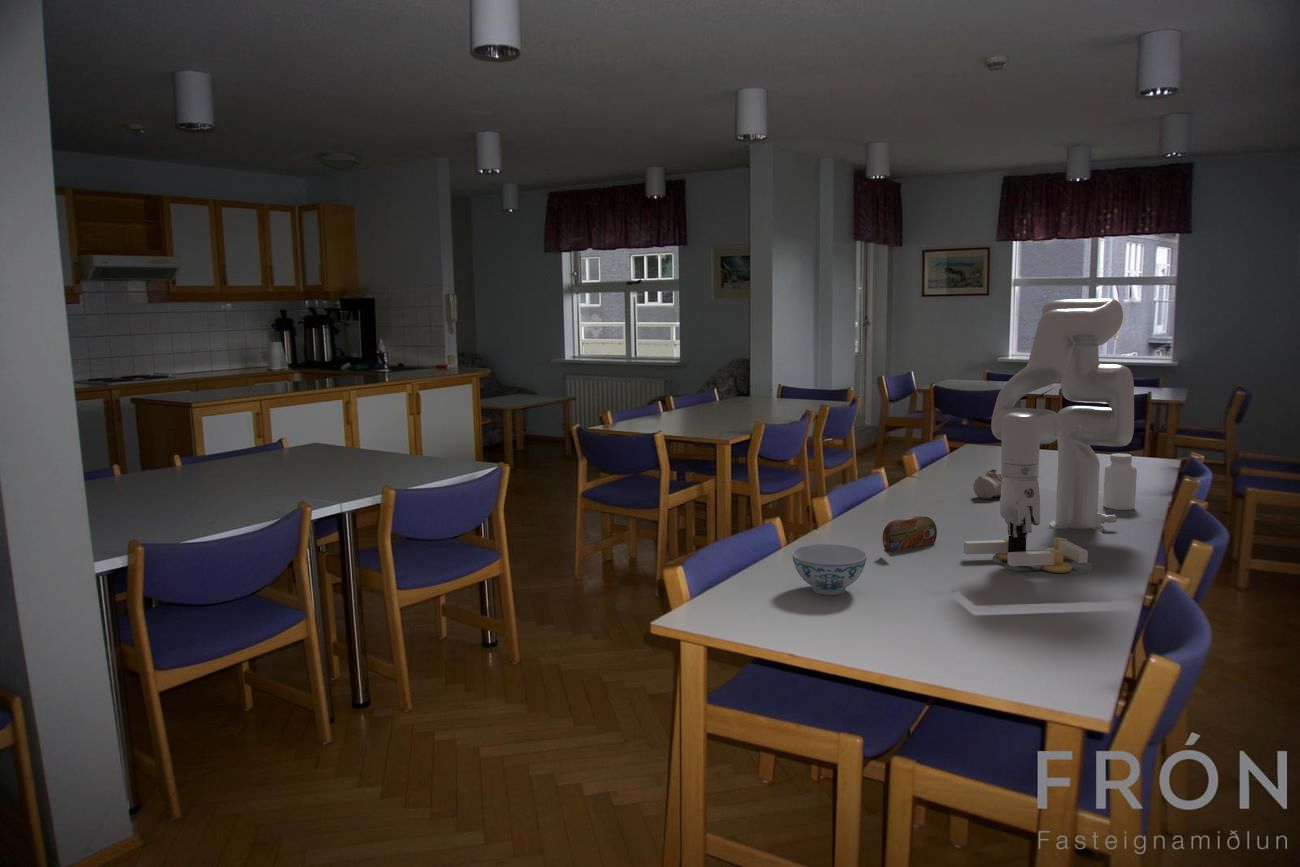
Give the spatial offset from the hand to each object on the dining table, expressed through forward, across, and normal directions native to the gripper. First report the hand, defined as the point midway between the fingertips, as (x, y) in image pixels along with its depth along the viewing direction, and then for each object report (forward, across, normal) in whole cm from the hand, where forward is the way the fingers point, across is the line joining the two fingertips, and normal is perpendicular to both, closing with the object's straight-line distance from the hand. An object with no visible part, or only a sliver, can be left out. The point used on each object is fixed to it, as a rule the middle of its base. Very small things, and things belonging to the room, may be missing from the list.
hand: (1016, 554), depth 193 cm
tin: (+4, +17, +18) cm, 25 cm away
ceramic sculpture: (+4, +75, -26) cm, 80 cm away
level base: (+4, +1, -6) cm, 7 cm away
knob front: (+2, -5, -3) cm, 6 cm away
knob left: (+2, +4, +3) cm, 6 cm away
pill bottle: (+4, +56, -54) cm, 78 cm away
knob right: (+2, +1, -12) cm, 12 cm away
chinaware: (+4, -9, +43) cm, 44 cm away
